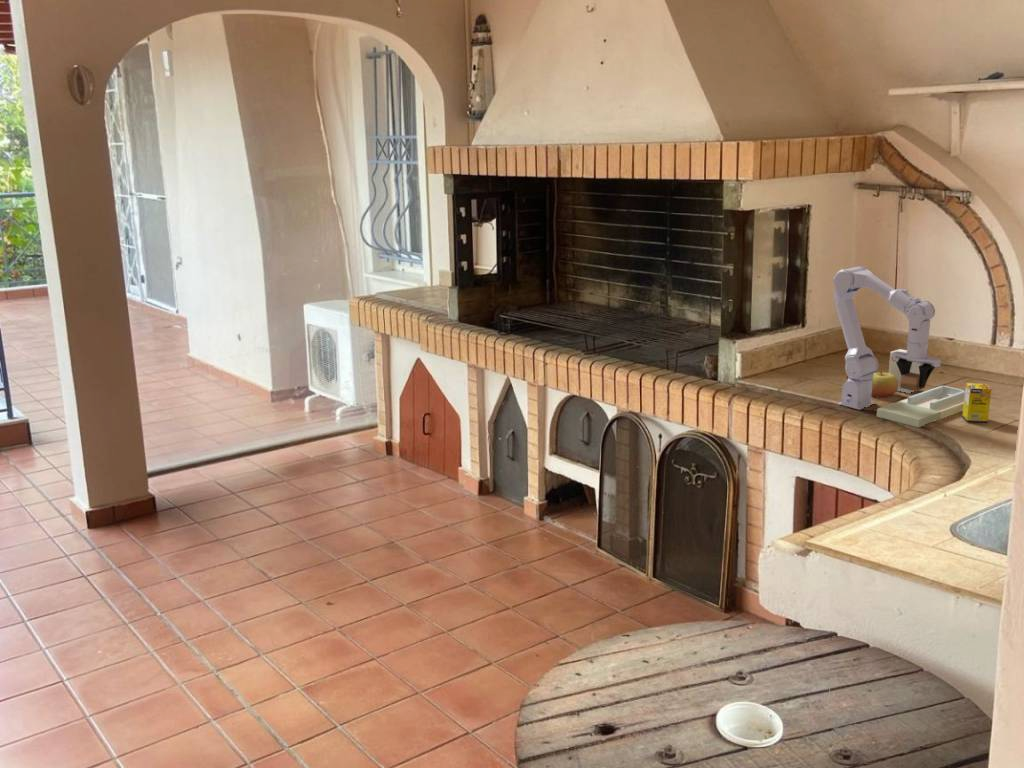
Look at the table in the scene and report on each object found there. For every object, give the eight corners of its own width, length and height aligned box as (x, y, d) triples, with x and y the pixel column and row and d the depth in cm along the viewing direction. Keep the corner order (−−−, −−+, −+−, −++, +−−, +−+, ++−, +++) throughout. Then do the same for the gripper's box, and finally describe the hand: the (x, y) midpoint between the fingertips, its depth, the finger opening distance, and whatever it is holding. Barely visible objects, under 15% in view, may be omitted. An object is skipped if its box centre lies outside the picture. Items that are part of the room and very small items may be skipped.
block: (915, 391, 291) (916, 378, 290) (900, 387, 295) (901, 375, 294) (924, 388, 294) (925, 375, 293) (909, 384, 298) (910, 372, 297)
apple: (868, 389, 327) (870, 366, 324) (899, 393, 322) (901, 370, 319) (862, 397, 318) (864, 373, 316) (893, 401, 314) (896, 377, 311)
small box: (918, 390, 324) (922, 352, 321) (909, 394, 321) (912, 356, 317) (896, 385, 331) (899, 348, 327) (886, 389, 327) (889, 351, 323)
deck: (918, 427, 288) (919, 413, 287) (876, 416, 299) (877, 402, 298) (974, 406, 306) (976, 392, 305) (933, 396, 317) (934, 383, 316)
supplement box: (987, 423, 290) (992, 388, 287) (966, 423, 291) (970, 388, 288) (982, 417, 295) (986, 383, 292) (961, 417, 297) (965, 382, 294)
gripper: (947, 344, 288) (943, 387, 291) (903, 335, 299) (899, 378, 303) (934, 347, 284) (930, 392, 287) (890, 339, 295) (886, 382, 299)
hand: (913, 385), depth 295 cm, fingers closed on block, 5 cm apart
